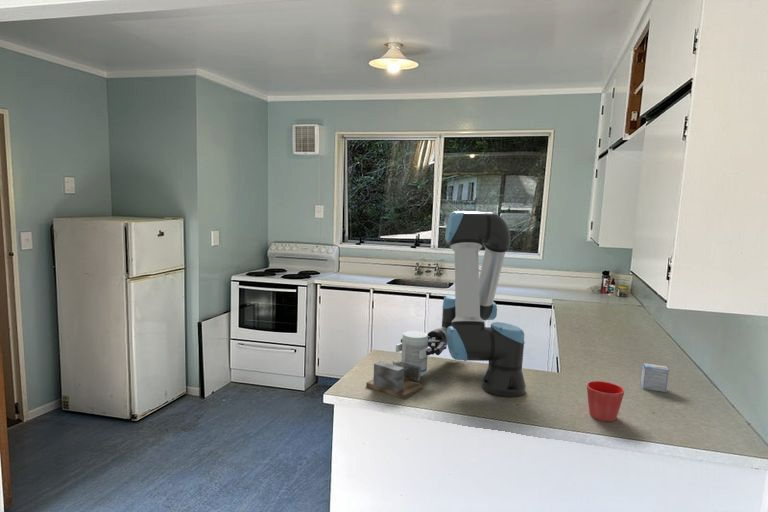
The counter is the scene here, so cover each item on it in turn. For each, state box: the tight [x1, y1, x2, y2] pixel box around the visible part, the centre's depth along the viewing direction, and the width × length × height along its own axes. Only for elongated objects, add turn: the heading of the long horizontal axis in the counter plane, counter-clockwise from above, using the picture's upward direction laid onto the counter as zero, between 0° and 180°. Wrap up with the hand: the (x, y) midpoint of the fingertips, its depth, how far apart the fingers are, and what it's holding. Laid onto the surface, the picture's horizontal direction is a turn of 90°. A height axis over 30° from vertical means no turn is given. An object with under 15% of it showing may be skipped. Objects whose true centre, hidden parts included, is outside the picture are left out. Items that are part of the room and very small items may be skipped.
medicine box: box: [640, 363, 670, 393], centre depth 177 cm, size 8×4×9 cm, turn 71°
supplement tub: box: [400, 330, 428, 377], centre depth 178 cm, size 10×10×15 cm
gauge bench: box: [365, 360, 424, 400], centre depth 168 cm, size 16×12×9 cm
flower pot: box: [586, 380, 625, 422], centre depth 152 cm, size 11×11×10 cm
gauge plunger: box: [392, 359, 421, 382], centre depth 172 cm, size 12×6×4 cm, turn 54°
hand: (408, 351), depth 174 cm, fingers closed on supplement tub, 9 cm apart
